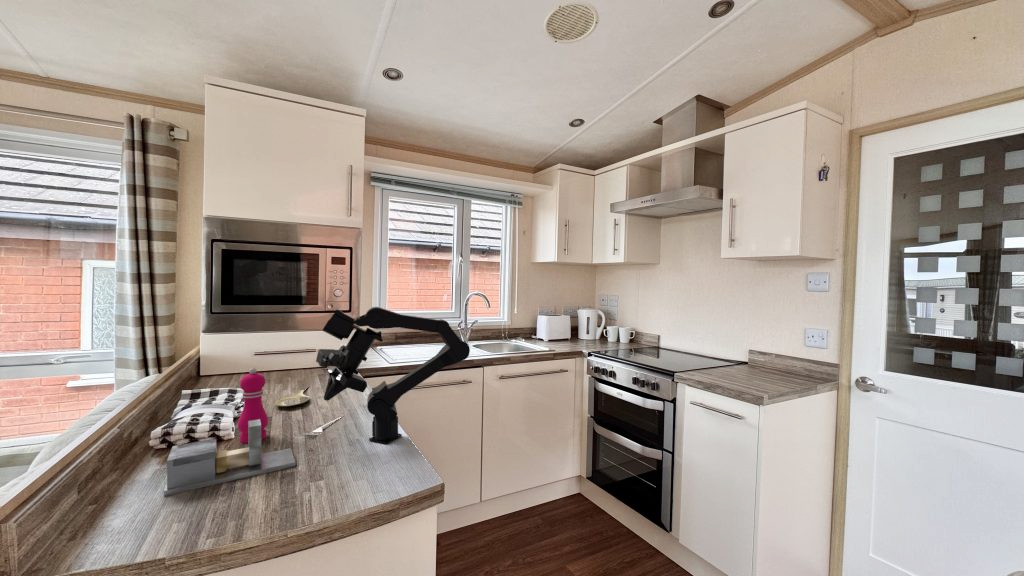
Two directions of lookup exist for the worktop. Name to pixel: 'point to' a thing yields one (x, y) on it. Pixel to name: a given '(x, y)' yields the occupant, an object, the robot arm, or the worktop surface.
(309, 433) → the fork
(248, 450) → the shaft
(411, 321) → the robot arm
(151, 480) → the worktop surface
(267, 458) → the grey long blocky piece
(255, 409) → the pepper mill
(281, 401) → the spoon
